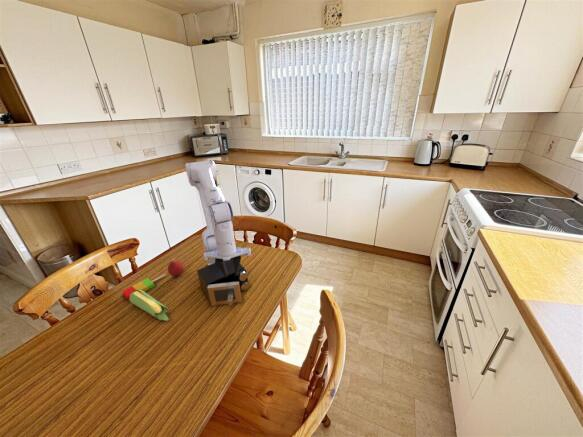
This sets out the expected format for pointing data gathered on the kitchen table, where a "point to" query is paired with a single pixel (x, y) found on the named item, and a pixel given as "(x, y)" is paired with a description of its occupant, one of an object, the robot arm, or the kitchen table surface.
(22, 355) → the kitchen table surface
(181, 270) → the onion
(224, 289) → the door
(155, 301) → the edible corn
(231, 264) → the microwave
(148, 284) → the popsicle
